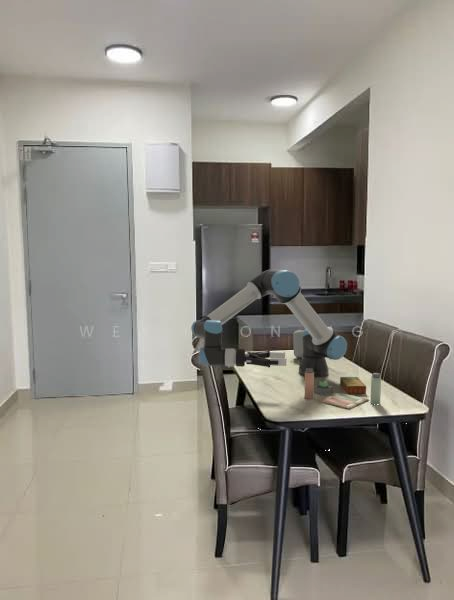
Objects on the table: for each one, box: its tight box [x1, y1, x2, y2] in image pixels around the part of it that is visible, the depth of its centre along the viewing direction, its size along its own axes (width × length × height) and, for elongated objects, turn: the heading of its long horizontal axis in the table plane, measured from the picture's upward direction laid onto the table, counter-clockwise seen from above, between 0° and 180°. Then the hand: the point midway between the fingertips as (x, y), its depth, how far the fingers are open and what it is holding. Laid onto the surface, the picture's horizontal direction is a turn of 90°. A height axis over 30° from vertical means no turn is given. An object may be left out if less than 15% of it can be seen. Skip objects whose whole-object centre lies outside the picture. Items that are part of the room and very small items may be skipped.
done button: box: [319, 380, 328, 388], centre depth 203 cm, size 3×3×2 cm
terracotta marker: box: [304, 368, 315, 400], centre depth 195 cm, size 4×4×12 cm
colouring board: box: [318, 391, 370, 410], centre depth 190 cm, size 16×14×1 cm
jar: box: [292, 326, 305, 359], centre depth 270 cm, size 19×15×25 cm
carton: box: [339, 376, 367, 396], centre depth 207 cm, size 8×16×4 cm, turn 178°
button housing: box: [314, 384, 334, 396], centre depth 203 cm, size 6×6×2 cm
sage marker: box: [369, 372, 382, 406], centre depth 187 cm, size 4×4×12 cm
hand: (285, 358), depth 194 cm, fingers open, 13 cm apart
